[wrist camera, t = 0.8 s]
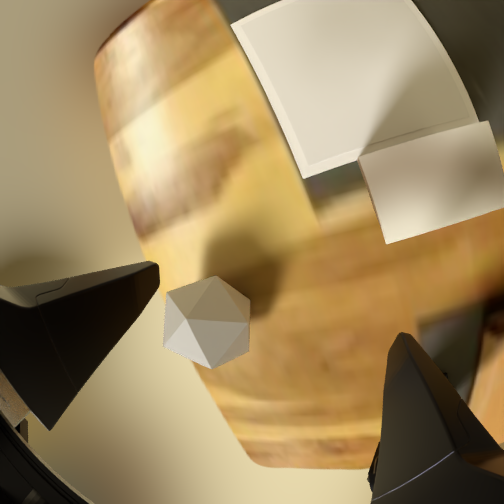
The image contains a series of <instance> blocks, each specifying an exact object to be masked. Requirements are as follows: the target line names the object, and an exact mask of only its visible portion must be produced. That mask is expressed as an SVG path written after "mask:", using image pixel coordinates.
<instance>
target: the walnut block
mask: <svg viewBox="0 0 504 504" xmlns="http://www.w3.org/2000/svg"><path fill="white" fill-rule="evenodd" d="M357 161H358V164H359V167H360V170H361V172H362V175H363V178H364V181H365V183H366V186H367V189H368V192H369V195H370V198H371V201H372V205H373V208H374V211H375V213H376V216H377V219H378V221H379V224H380V227H381V230H382V233H383V236H384V239H385V242H386V244H389V243H393V242H396V241H400V240H403V239H406V238H410V237H413V236H416V235H420V234H423V233H426V232H429V231H433V230H436V229H439V228H442V227H445V226H449V225H452V224H455V223H458V222H461V221H464V220H467V219H470V218H473V217H476V216H480V215H483V214H486V213H489V212H491V211H494V210H497V209H500V208H503V207H504V173H503V169H502V165H501V161H500V157H499V153H498V150H497V146H496V143H495V140H494V136H493V133H492V130H491V127H490V124H489V122H488V121H484V122H480V123H475V124H471V125H467V126H463V127H459V128H455V129H451V130H447V131H443V132H440V133H436V134H432V135H429V136H425V137H422V138H418V139H415V140H411V141H408V142H404V143H401V144H398V145H394V146H391V147H388V148H385V149H382V150H378V151H375V152H372V153H369V154H366V155H363V156H360V157H358V159H357Z"/></svg>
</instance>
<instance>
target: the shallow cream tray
mask: <svg viewBox="0 0 504 504" xmlns="http://www.w3.org/2000/svg"><path fill="white" fill-rule="evenodd" d="M231 27H232V29H233V30H234V32H235V34H236V36H237V38H238V39H239V41H240V43H241V45H242V47H243V49H244V51H245V52H246V54H247V56H248V58H249V60H250V62H251V64H252V66H253V68H254V70H255V72H256V74H257V76H258V78H259V80H260V82H261V84H262V86H263V88H264V90H265V92H266V94H267V96H268V98H269V100H270V103H271V105H272V107H273V109H274V111H275V113H276V116H277V118H278V120H279V122H280V124H281V127H282V129H283V131H284V134H285V136H286V138H287V141H288V143H289V145H290V148H291V150H292V152H293V155H294V157H295V160H296V162H297V165H298V167H299V170H300V172H301V175H302V177H303V179H304V178H307V177H310V176H313V175H316V174H318V173H321V172H324V171H327V170H330V169H333V168H336V167H338V166H341V165H344V164H347V163H350V162H353V161H356V160H357V159H358V157H360V156H363V155H366V154H369V153H372V152H375V151H378V150H382V149H385V148H388V147H391V146H394V145H398V144H401V143H404V142H408V141H411V140H415V139H418V138H422V137H425V136H429V135H432V134H436V133H440V132H443V131H447V130H451V129H455V128H459V127H463V126H467V125H471V124H475V123H479V120H478V117H477V115H476V112H475V110H474V107H473V105H472V102H471V100H470V98H469V95H468V93H467V91H466V89H465V87H464V84H463V82H462V80H461V78H460V76H459V74H458V72H457V70H456V68H455V66H454V65H453V63H452V61H451V59H450V57H449V56H448V54H447V52H446V50H445V49H444V47H443V45H442V44H441V42H440V40H439V39H438V37H437V36H436V34H435V33H434V31H433V29H432V28H431V27H430V25H429V24H428V22H427V21H426V19H425V18H424V16H423V15H422V14H421V12H420V11H419V10H418V8H417V7H416V6H415V4H414V3H413V2H412V1H411V0H282V1H279V2H277V3H275V4H272V5H270V6H268V7H265V8H263V9H261V10H259V11H257V12H255V13H253V14H251V15H249V16H247V17H245V18H243V19H241V20H239V21H237V22H235V23H233V24H231Z"/></svg>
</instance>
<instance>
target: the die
mask: <svg viewBox="0 0 504 504" xmlns="http://www.w3.org/2000/svg"><path fill="white" fill-rule="evenodd" d="M164 322H165V323H164V339H163V347H165V348H167V349H170V350H171V351H173V352H175V353H177V354H179V355H181V356H183V357H186V358H188V359H190V360H192V361H194V362H196V363H199V364H201V365H203V366H205V367H208V368H210V369H214V368H216V367H218V366H220V365H222V364H224V363H226V362H228V361H231V360H233V359H235V358H237V357H239V356H241V355H243V354H245V353H247V352H248V351H249V336H250V300H249V299H248V298H247V297H245V296H244V295H243V294H241V293H240V292H238V291H237V290H236V289H234V288H233V287H231V286H230V285H229V284H227V283H226V282H225V281H223V280H222V279H221V278H219V277H218V276H217V275H215V276H212V277H209V278H206V279H203V280H201V281H198V282H195V283H192V284H189V285H186V286H183V287H180V288H177V289H174V290H172V291H169V292H167V294H166V306H165V321H164Z"/></svg>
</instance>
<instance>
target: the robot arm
mask: <svg viewBox="0 0 504 504" xmlns="http://www.w3.org/2000/svg"><path fill="white" fill-rule="evenodd" d="M159 285H160V274H159V265H158V264H157V263H154V262H151V261H146V262H141V263H136V264H131V265H126V266H121V267H116V268H112V269H107V270H102V271H97V272H93V273H88V274H83V275H79V276H74V277H70V278H65V279H60V280H55V281H50V282H44V283H38V284H31V285H25V286H18V287H6V286H2V285H0V504H95V503H93V502H92V501H90V500H89V499H88V498H87V497H85V496H84V495H83V494H81V493H80V492H79V491H78V490H76V489H75V488H74V487H73V486H72V485H70V484H69V483H68V482H67V481H66V480H64V479H63V478H62V477H61V476H60V475H59V474H58V473H56V471H54V470H53V469H52V468H51V467H50V466H49V465H48V464H47V463H46V462H45V461H44V460H43V459H42V458H41V457H40V456H39V455H38V454H37V453H36V452H35V451H34V450H33V449H32V448H31V447H30V445H29V444H28V421H27V420H26V419H25V417H26V416H27V415H28V414H29V413H30V412H31V413H32V414H33V415H34V416H35V417H36V418H37V419H38V420H39V421H40V422H41V423H42V425H44V427H45V428H47V429H48V430H49V431H50V430H51V429H52V428H53V427H54V425H55V424H56V422H57V421H58V420H59V418H60V417H61V415H62V414H63V413H64V411H65V410H66V409H67V407H68V406H69V404H70V403H71V402H72V401H73V399H74V398H75V396H76V395H77V394H78V392H79V391H80V390H81V388H82V387H83V386H84V384H85V383H86V382H87V380H88V379H89V378H90V377H91V375H92V374H93V373H94V371H95V370H96V369H97V368H98V366H99V365H100V364H101V363H102V361H103V360H104V359H105V357H106V356H107V355H108V354H109V352H110V351H111V350H112V349H113V347H114V346H115V345H116V344H117V343H118V341H119V340H120V339H121V338H122V336H123V335H124V334H125V333H126V331H127V330H128V329H129V328H130V327H131V325H132V324H133V323H134V322H135V321H136V319H137V318H138V317H139V316H140V314H141V313H142V311H143V310H144V308H145V307H146V305H147V304H148V302H149V301H150V299H151V298H152V296H153V295H154V294H155V292H156V291H157V289H158V288H159ZM368 475H369V476H368V478H367V480H368V482H369V483H370V488H371V491H372V492H373V494H372V500H371V504H504V450H503V449H502V448H501V447H500V446H499V445H498V444H497V442H496V441H495V440H494V439H493V437H492V436H491V435H490V434H489V432H488V431H487V430H486V429H485V428H484V426H483V425H482V424H481V423H480V421H479V420H478V419H477V418H476V417H475V415H474V414H473V413H472V411H471V410H470V409H469V407H468V406H467V405H466V403H465V402H464V401H463V399H461V397H460V395H459V394H458V393H457V391H456V390H455V389H454V387H453V386H452V385H451V383H450V382H449V381H448V376H447V373H442V372H441V371H440V369H439V368H438V367H437V366H436V364H435V363H434V362H433V361H432V359H431V358H430V357H429V356H428V354H427V353H426V352H425V351H424V350H423V348H422V347H421V346H420V345H419V344H418V342H417V341H416V340H415V339H414V338H413V336H412V335H411V334H408V333H403V332H401V333H399V334H398V335H397V337H396V339H395V341H394V343H393V344H392V346H391V348H390V350H389V352H388V359H387V368H386V376H385V384H384V392H383V413H382V428H381V439H380V442H379V444H378V447H377V449H376V452H375V455H374V458H373V461H372V464H371V467H370V469H369V472H368Z"/></svg>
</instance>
